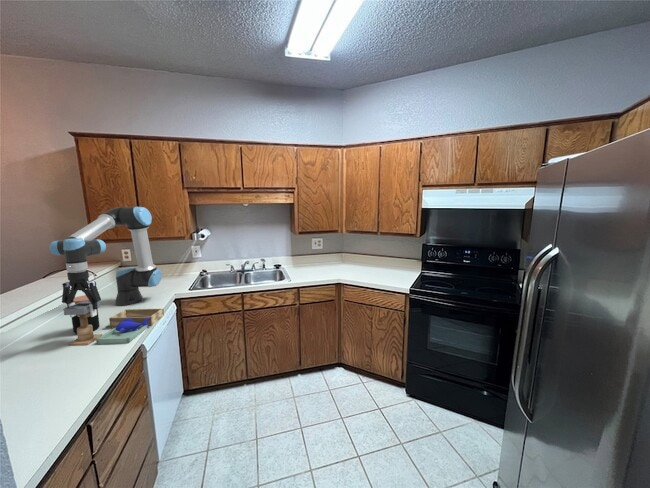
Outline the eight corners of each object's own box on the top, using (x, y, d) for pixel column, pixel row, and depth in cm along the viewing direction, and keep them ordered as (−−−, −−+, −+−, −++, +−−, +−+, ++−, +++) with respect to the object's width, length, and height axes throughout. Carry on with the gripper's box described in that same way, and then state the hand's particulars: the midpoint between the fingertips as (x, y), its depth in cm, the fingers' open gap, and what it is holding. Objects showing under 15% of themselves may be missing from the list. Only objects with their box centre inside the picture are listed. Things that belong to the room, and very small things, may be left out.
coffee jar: (97, 324, 154) (93, 293, 152) (102, 329, 147) (98, 297, 145) (71, 331, 146) (67, 298, 143) (75, 336, 139) (71, 302, 137)
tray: (119, 329, 147) (119, 325, 147) (148, 328, 148) (148, 324, 148) (96, 344, 131) (96, 339, 131) (128, 343, 132) (128, 338, 132)
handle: (84, 336, 139) (81, 310, 137) (102, 336, 140) (99, 309, 138) (68, 345, 130) (65, 317, 129) (88, 344, 131) (84, 316, 129)
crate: (126, 319, 161) (125, 309, 160) (164, 318, 162) (163, 308, 161) (110, 328, 148) (109, 318, 147) (151, 327, 149) (150, 317, 148)
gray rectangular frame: (64, 315, 128) (63, 308, 128) (84, 305, 140) (83, 300, 139) (84, 314, 129) (83, 308, 128) (102, 305, 140) (102, 299, 140)
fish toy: (113, 335, 137) (113, 321, 138) (117, 332, 144) (116, 319, 144) (149, 329, 144) (148, 316, 145) (150, 326, 151) (150, 314, 151)
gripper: (46, 273, 126) (53, 319, 129) (95, 272, 127) (101, 318, 130) (61, 269, 134) (67, 313, 137) (107, 268, 135) (112, 312, 138)
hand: (83, 316), depth 134 cm, fingers closed on gray rectangular frame, 9 cm apart
